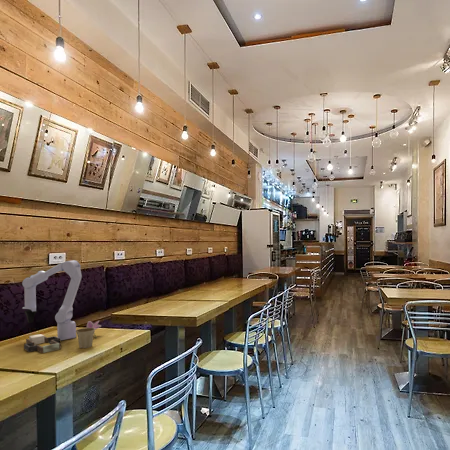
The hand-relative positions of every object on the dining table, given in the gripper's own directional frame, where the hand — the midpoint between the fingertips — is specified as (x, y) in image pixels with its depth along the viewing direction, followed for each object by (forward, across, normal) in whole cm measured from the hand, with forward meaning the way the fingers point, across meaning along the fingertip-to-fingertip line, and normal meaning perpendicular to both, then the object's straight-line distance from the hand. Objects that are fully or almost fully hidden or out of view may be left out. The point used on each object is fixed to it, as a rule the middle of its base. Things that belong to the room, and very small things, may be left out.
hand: (30, 322), depth 216 cm
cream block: (+10, +11, 0) cm, 15 cm away
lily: (+10, +23, +26) cm, 36 cm away
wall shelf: (+9, +22, 0) cm, 23 cm away
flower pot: (+10, +41, +15) cm, 45 cm away
